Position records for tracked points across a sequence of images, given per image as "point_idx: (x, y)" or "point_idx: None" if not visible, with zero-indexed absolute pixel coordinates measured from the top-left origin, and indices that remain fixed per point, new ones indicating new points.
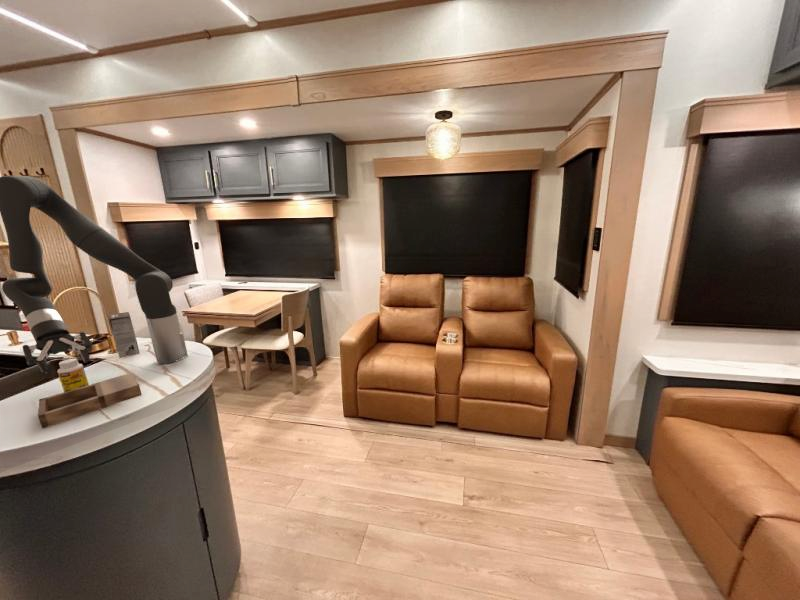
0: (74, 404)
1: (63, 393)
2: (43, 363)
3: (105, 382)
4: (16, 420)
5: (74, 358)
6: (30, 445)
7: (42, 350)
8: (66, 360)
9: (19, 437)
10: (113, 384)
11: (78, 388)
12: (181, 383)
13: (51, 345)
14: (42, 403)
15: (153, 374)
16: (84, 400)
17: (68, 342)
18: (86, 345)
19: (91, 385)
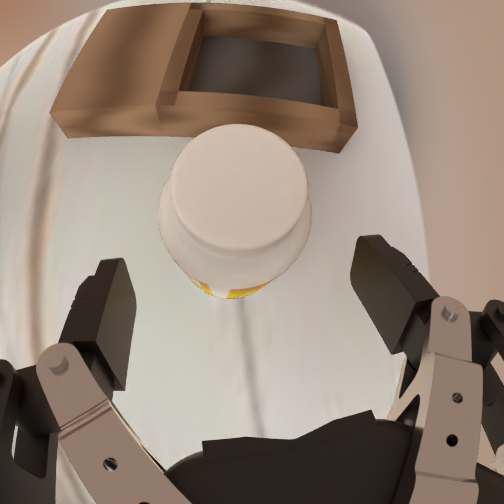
0: (260, 8)
1: (284, 103)
2: (411, 275)
3: (144, 81)
4: (393, 153)
5: (182, 214)
6: (334, 13)
7: (478, 388)
8: (248, 215)
9: (361, 52)
10: (138, 46)
11: (232, 102)
12: (41, 44)
13: (407, 482)
14: (341, 80)
15: (11, 164)
16: (236, 9)
17: (150, 501)
18: (21, 404)
19: (188, 92)
